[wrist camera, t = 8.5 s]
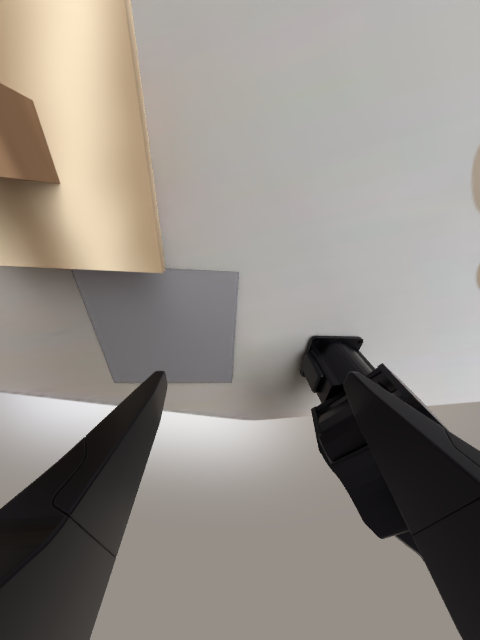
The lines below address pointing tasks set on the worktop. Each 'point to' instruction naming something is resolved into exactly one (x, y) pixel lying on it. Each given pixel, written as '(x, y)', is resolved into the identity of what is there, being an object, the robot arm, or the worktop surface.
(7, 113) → the lid
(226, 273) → the mat
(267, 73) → the worktop surface
